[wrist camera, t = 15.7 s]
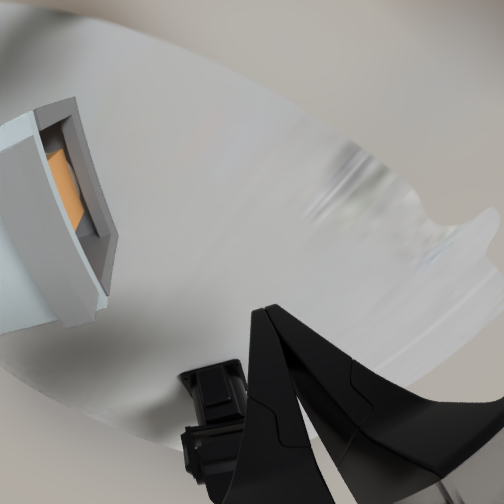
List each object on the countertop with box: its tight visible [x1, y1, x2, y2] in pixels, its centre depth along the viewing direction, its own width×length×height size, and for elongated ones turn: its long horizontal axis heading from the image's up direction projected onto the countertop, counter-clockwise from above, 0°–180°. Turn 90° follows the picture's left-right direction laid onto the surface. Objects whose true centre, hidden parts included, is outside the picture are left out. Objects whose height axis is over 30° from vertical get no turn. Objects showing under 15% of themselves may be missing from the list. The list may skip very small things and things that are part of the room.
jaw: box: [46, 148, 84, 231], centre depth 14 cm, size 4×4×6 cm
